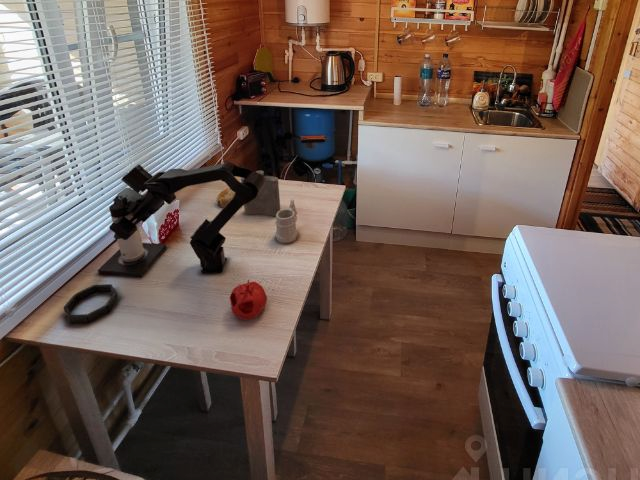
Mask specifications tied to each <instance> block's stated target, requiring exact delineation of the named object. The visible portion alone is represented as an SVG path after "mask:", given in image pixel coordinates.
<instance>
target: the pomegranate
mask: <svg viewBox="0 0 640 480" xmlns="http://www.w3.org/2000/svg"><path fill="white" fill-rule="evenodd" d="M261 283H262V281H260V282H256V281H250V279H248V280H247V282H246V283H245V282H244V283H242V284H237V285H236V286H234V288H233V289H232V291H231V292H230V295H229V301H230V310H231V313H232V314H233V315H234V316H235V317H236V318H238V319H241V320H251V319H255V318H256V317H258V316H260V314H261V312H262V310H263V309H264V308H266V306H267V304H268V303H267V302H268V295H267V294H266V291H265V288H264V287H263V286H262V285H261Z"/></svg>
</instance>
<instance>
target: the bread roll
mask: <svg viewBox="0 0 640 480" xmlns="http://www.w3.org/2000/svg"><path fill="white" fill-rule="evenodd" d="M234 194H235V192H233V191H232V190H231V189H230V188H229V187H228V188H225V189H223V190H221V191H220V192H219V194H218V195H217V197H216V200H215V201H216V203H217V204H218V206H219V207H220V208H222V209H223V208H224V207H225V206H226V205H227V204H228V202H229V201H230V200H231V199H232V198H233V197H234Z"/></svg>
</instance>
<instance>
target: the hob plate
mask: <svg viewBox="0 0 640 480" xmlns="http://www.w3.org/2000/svg"><path fill="white" fill-rule="evenodd" d="M142 244H143V248H144V255H143V256H142V257H141V258H140V259H138V260H136V261H133V262H125V261H123V259H122V255H121V252H120V248H118V250H117V251H116V252H115V253H114V254H113V255H112V256H110V258H108V259H107V261H106V262H104V263H103V264H102V265H101V266H100V267H99V268H98V269H97V273H98V275H108V276H121V277H134V278H142V277H143V275H145V273H146V272H148V270H149V269H150V268H151V266H152V265H153V264H154V263H155V262H156V261H157V259H159V257H160V256H161V255H162V254H163V253H164V252H165V250H166V249H167V244H166V243H152V242H142Z"/></svg>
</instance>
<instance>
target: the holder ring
mask: <svg viewBox="0 0 640 480" xmlns="http://www.w3.org/2000/svg"><path fill="white" fill-rule="evenodd" d="M95 294H111V296H110V298H109V299H108V300H107V301H106V303H105V304H104V305H102V306H100V307H99V308H97V309H95V310H93V311H91V312H89V313H85V314H72V313H71V312H72V311H73V310H74V308H75V307H76V306H77V305H78V303H80V302H81V301H83V300H85V299H87V298H89V297H91V296H94V295H95ZM119 299H120V298H119V296H118V292H117V290H116V289H115V288H114V286H113V284H110V283H107V284H105V283H104V284H103V283H102V284H93V285H91V286H88V287H86V288H85V289H82V290H80V291H78V292H76V293H74V295H73V296H72V297H71V298H70V299H69V300H68V301H67V302H66V303H65V305H64V306H63V310H64V313H65V316H66V319H67V320H68V323H69V324H70V325H85V324H86V325H87V324H91V323H93V322H95V321H97V320H99V319H100V318H102V317H105V316H106V315H108V314H109V313H110V312H111V311H112V310H113V308H114V307H115V305H116V304H117V303H118V302H119Z"/></svg>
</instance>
